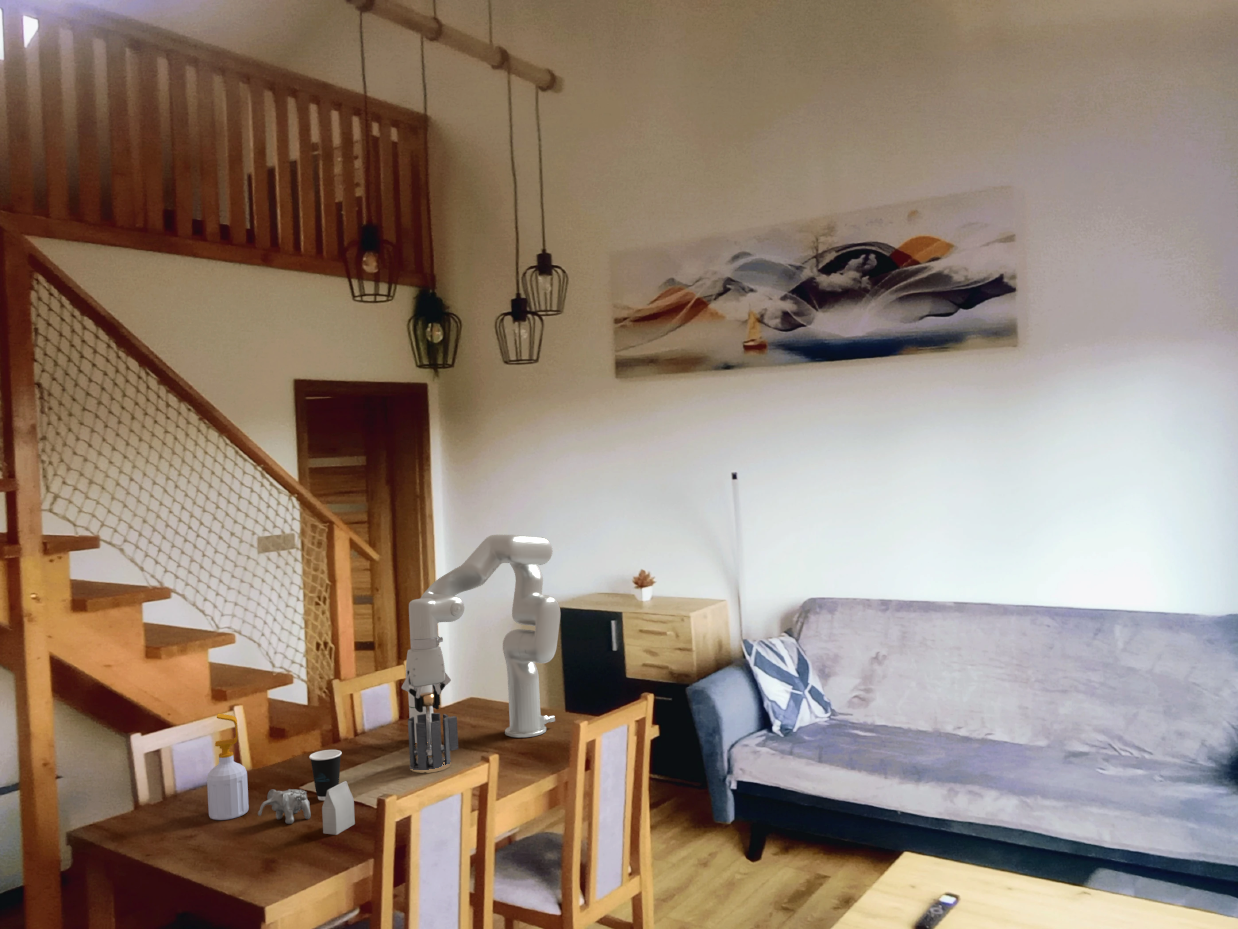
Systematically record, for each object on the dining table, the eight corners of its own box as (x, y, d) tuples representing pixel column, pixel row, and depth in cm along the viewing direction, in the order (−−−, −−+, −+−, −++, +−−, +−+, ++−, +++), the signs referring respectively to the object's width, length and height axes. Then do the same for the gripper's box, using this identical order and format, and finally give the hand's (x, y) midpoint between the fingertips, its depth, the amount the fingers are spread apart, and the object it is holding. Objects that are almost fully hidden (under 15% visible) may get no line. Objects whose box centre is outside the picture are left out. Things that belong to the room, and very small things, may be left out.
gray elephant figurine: (318, 816, 234) (317, 784, 234) (281, 832, 223) (281, 798, 223) (288, 813, 238) (288, 781, 238) (251, 828, 227) (251, 794, 227)
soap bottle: (209, 811, 240) (204, 712, 240) (248, 805, 244) (244, 707, 244) (208, 823, 232) (203, 721, 232) (248, 816, 235) (243, 715, 235)
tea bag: (354, 824, 227) (352, 781, 227) (336, 834, 221) (334, 791, 221) (341, 822, 228) (339, 780, 228) (323, 833, 222) (321, 789, 222)
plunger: (438, 745, 274) (435, 688, 274) (449, 751, 267) (447, 694, 267) (409, 751, 269) (407, 694, 269) (420, 758, 262) (417, 699, 262)
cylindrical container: (431, 743, 291) (427, 660, 291) (408, 744, 292) (404, 661, 292) (436, 736, 298) (432, 655, 298) (413, 737, 299) (409, 656, 299)
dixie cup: (339, 789, 252) (337, 747, 252) (347, 798, 245) (345, 754, 245) (308, 796, 248) (306, 753, 248) (315, 805, 241) (312, 760, 241)
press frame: (450, 756, 277) (447, 709, 277) (465, 765, 268) (463, 716, 268) (404, 766, 270) (401, 717, 270) (418, 776, 260) (416, 726, 260)
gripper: (447, 638, 276) (450, 702, 276) (390, 646, 267) (393, 712, 267) (458, 641, 269) (461, 707, 269) (399, 650, 260) (403, 718, 260)
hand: (427, 709), depth 268 cm, fingers closed on plunger, 4 cm apart
